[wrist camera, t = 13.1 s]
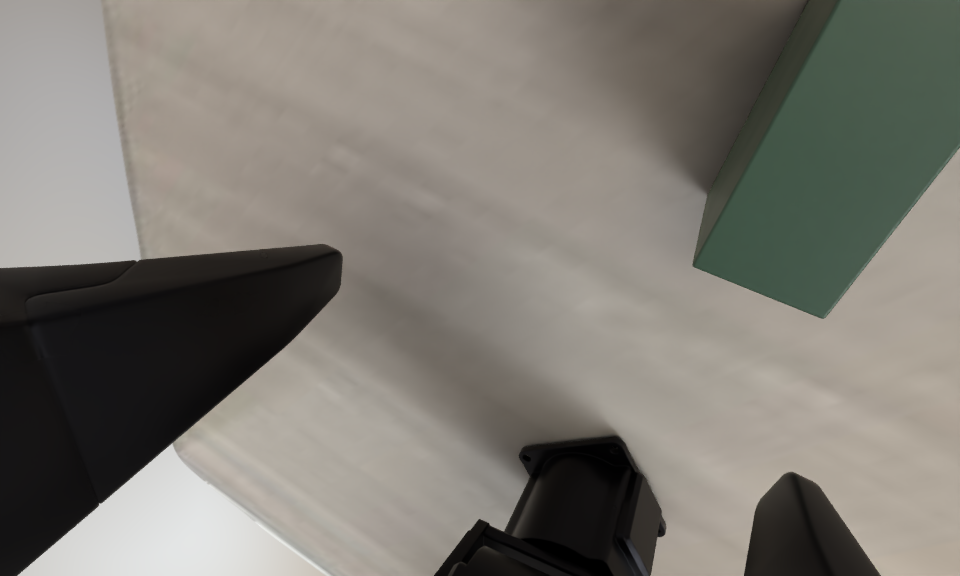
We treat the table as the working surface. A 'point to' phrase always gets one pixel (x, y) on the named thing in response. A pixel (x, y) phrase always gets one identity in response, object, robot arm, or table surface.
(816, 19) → the green block
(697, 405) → the table surface
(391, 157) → the table surface
